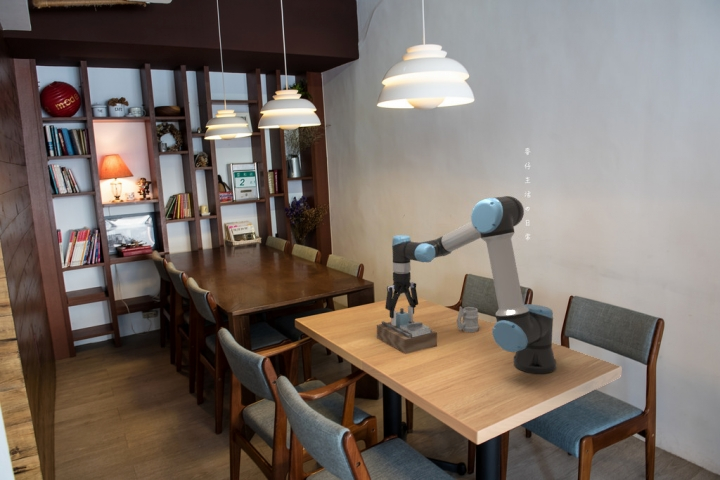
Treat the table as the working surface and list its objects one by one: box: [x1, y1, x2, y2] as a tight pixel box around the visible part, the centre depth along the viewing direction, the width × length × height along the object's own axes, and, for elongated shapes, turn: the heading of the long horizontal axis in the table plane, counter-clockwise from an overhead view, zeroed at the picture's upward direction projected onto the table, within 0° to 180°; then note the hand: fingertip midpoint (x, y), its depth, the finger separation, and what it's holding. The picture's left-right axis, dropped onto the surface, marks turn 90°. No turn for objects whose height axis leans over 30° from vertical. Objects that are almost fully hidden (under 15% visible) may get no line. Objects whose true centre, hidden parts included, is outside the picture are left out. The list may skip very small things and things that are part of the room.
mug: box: [456, 306, 480, 333], centre depth 236 cm, size 8×12×12 cm, turn 124°
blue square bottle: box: [396, 308, 409, 329], centre depth 226 cm, size 4×4×14 cm
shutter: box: [400, 321, 431, 337], centre depth 218 cm, size 9×9×3 cm
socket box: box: [376, 320, 438, 355], centre depth 224 cm, size 22×16×7 cm
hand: (402, 323), depth 226 cm, fingers open, 8 cm apart
